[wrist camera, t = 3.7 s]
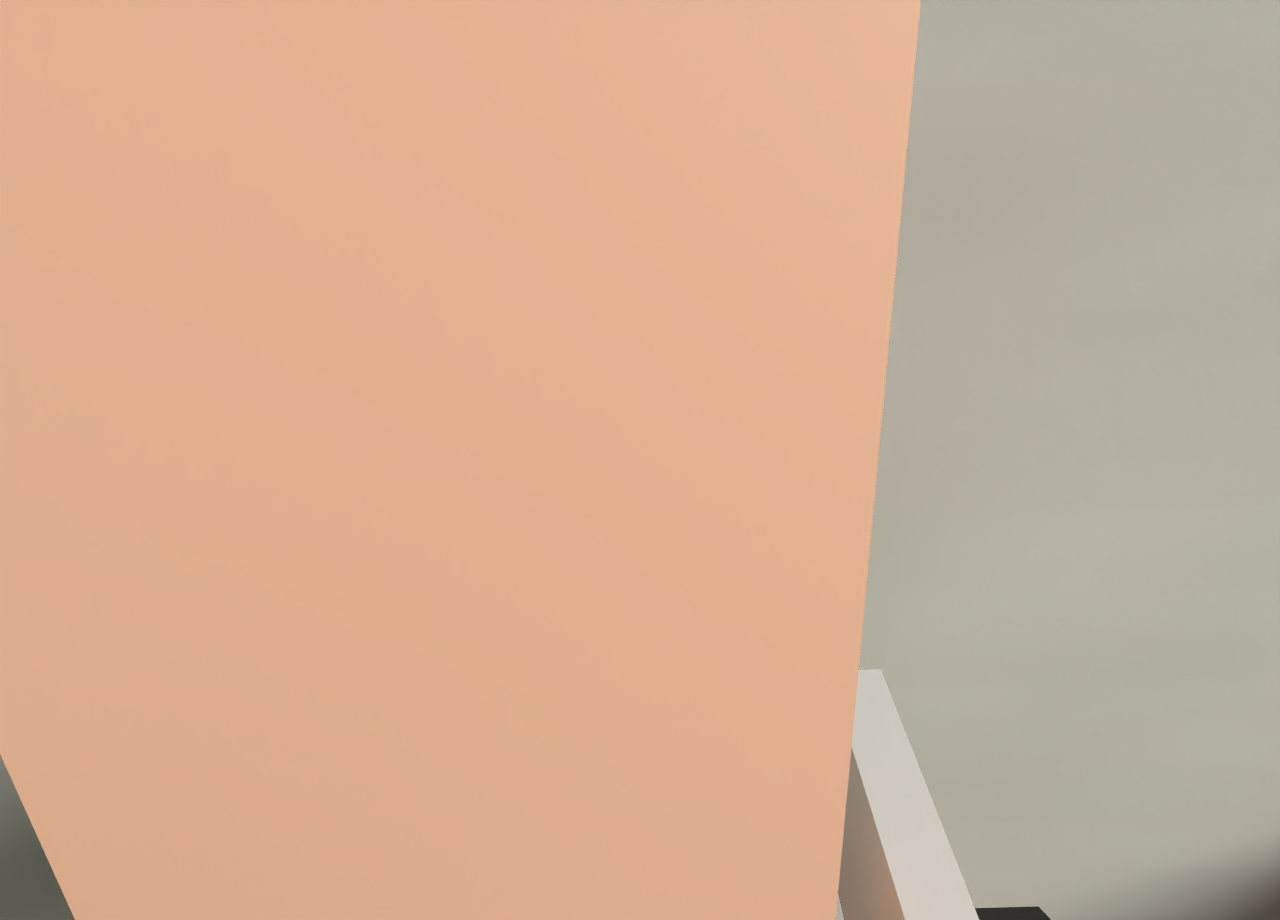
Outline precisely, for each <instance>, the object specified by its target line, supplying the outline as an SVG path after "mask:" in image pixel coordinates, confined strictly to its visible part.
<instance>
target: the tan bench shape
mask: <svg viewBox="0 0 1280 920" xmlns="http://www.w3.org/2000/svg"><path fill="white" fill-rule="evenodd" d="M920 4H921V0H0V755H1V757H2V759H3V762H4V764H5V766H6V768H7V770H8V773H9V775H10V777H11V779H12V782H13V784H14V786H15V788H16V790H17V793H18V795H19V797H20V799H21V801H22V804H23V806H24V808H25V810H26V813H27V815H28V817H29V819H30V821H31V824H32V826H33V828H34V830H35V832H36V835H37V837H38V839H39V841H40V844H41V846H42V848H43V850H44V852H45V855H46V857H47V859H48V861H49V863H50V866H51V868H52V870H53V872H54V874H55V877H56V879H57V881H58V883H59V886H60V888H61V890H62V892H63V894H64V897H65V899H66V901H67V903H68V905H69V908H70V910H71V912H72V914H73V917H74V919H75V920H835V919H836V909H837V898H838V887H839V876H840V865H841V855H842V844H843V833H844V822H845V812H846V801H847V790H848V779H849V769H850V758H851V747H852V736H853V726H854V715H855V704H856V693H857V682H858V672H859V661H860V650H861V639H862V629H863V618H864V607H865V596H866V586H867V575H868V564H869V553H870V543H871V532H872V521H873V510H874V499H875V489H876V478H877V467H878V456H879V446H880V435H881V424H882V413H883V403H884V392H885V381H886V370H887V360H888V349H889V338H890V327H891V316H892V306H893V295H894V284H895V273H896V263H897V252H898V241H899V230H900V220H901V209H902V198H903V187H904V177H905V166H906V155H907V144H908V133H909V123H910V112H911V101H912V90H913V80H914V69H915V58H916V47H917V37H918V26H919V15H920Z"/></svg>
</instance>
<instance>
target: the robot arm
mask: <svg viewBox="0 0 1280 920" xmlns="http://www.w3.org/2000/svg"><path fill="white" fill-rule="evenodd" d="M838 895H839V899H840V903H841V907H842V911H843V916H844V920H1050V918H1049V917H1048V916H1047V915H1046V914H1045V913H1044V912H1043V911H1042V910H1041V909H1040V908H1039V907H1008V908H974V905H973V902H972V900H971V897H970V895H969V892H968V890H967V887H966V885H965V882H964V880H963V877H962V875H961V872H960V869H959V867H958V864H957V862H956V859H955V857H954V854H953V852H952V849H951V847H950V844H949V842H948V839H947V836H946V834H945V831H944V829H943V826H942V824H941V821H940V819H939V816H938V814H937V811H936V809H935V806H934V803H933V801H932V798H931V796H930V793H929V791H928V788H927V786H926V783H925V781H924V778H923V776H922V773H921V770H920V768H919V765H918V763H917V760H916V758H915V755H914V753H913V750H912V748H911V745H910V743H909V740H908V737H907V735H906V732H905V730H904V727H903V725H902V722H901V720H900V717H899V715H898V712H897V710H896V707H895V704H894V702H893V699H892V697H891V694H890V692H889V689H888V687H887V684H886V682H885V679H884V677H883V674H882V671H881V669H873V670H859V672H858V682H857V693H856V704H855V715H854V726H853V736H852V747H851V758H850V769H849V779H848V790H847V801H846V812H845V822H844V833H843V844H842V855H841V865H840V876H839V887H838Z"/></svg>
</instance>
